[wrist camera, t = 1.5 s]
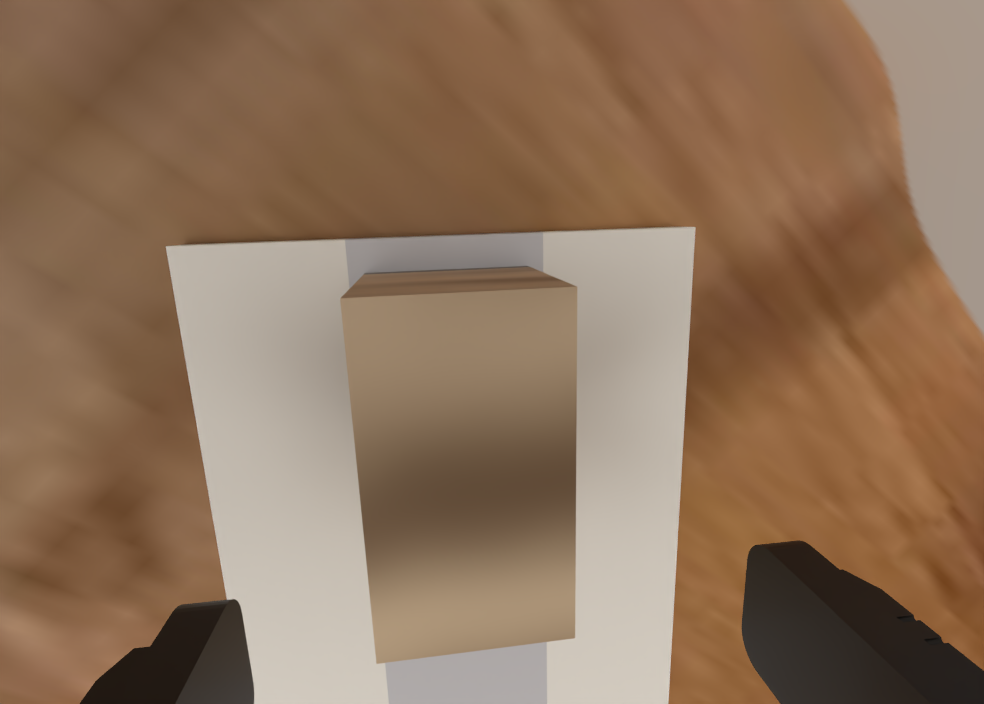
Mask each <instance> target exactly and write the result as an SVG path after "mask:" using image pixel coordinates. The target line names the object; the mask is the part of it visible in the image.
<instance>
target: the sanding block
mask: <svg viewBox="0 0 984 704" xmlns="http://www.w3.org/2000/svg"><path fill="white" fill-rule="evenodd" d="M340 303H341V313H342V323H343V333H344V343H345V353H346V363H347V373H348V383H349V393H350V403H351V413H352V423H353V433H354V443H355V453H356V463H357V473H358V483H359V493H360V503H361V513H362V523H363V533H364V543H365V553H366V564H367V574H368V584H369V594H370V604H371V614H372V624H373V634H374V644H375V654H376V664H380V663H388V662H395V661H403V660H411V659H419V658H426V657H434V656H442V655H450V654H457V653H465V652H473V651H480V650H488V649H496V648H504V647H511V646H519V645H527V644H534V643H542V642H550V641H558V640H565V639H573V638H575V589H576V427H577V286H574V285H572V284H570V283H567V282H565V281H563V280H560V279H558V278H555V277H553V276H551V275H548V274H546V273H544V272H541V271H539V270H536V269H534V268H532V267H529V266H512V267H489V268H466V269H443V270H421V271H398V272H375V273H364V275H363V276H362V277H361V278H360V279H359V280H358V281H357V282H356V283H355V284H354V285H353V286H352V287H351V288H350V289H349V290H348V291H347V292H346V293H345V294H344V295H343V296H342V297H341V298H340Z"/></svg>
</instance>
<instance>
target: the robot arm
mask: <svg viewBox="0 0 984 704" xmlns="http://www.w3.org/2000/svg"><path fill="white" fill-rule="evenodd" d="M742 635H743V641H744V645H745V648H746V651H747V654H748V656H749V659H750V661H751V663H752V665H753V666H754V668H755V670H756V671H757V672H758V674H759V675H760V677H761V678H762V679H763V681H764V682H765V683H766V685H767V686H768V687H769V689H770V690H771V691H772V693H773V694H774V695H775V697H776V698H777V699H778V701H779V702H780V703H781V704H984V671H983V670H982V669H980V668H979V667H978V666H977V665H975V664H974V663H973V662H972V661H970V660H969V659H968V658H967V657H965V656H964V655H963V654H962V653H960V652H959V651H958V650H957V649H955V648H954V647H953V646H952V645H950V644H949V643H943V642H942V640H941V637H940V636H939V635H938V634H937V633H935V632H934V631H933V630H932V629H930V628H929V627H928V626H927V625H925V624H924V623H923V622H922V621H920V620H918V621H916V620H915V619H914V616H913V614H912V613H910V612H909V611H908V610H907V609H905V608H904V607H903V606H902V605H900V604H899V603H898V602H897V601H895V600H894V599H893V598H892V597H890V596H889V595H888V594H887V593H885V592H884V591H883V590H882V589H880V588H878V587H876V586H874V585H872V584H870V583H868V582H866V581H864V580H862V579H860V578H858V577H856V576H854V575H852V574H851V573H849V572H847V571H845V570H839V569H838V568H837V567H836V566H834V565H833V564H832V563H831V562H830V561H828V560H827V559H826V558H825V557H824V556H822V555H821V554H820V553H819V552H818V551H816V550H815V549H814V548H813V547H812V546H810V545H809V544H807V543H806V542H803V541H790V542H781V543H771V544H762V545H755V546H753V547H752V548H751V549H750V551H749V554H748V559H747V570H746V582H745V593H744V605H743V616H742ZM80 704H254V683H253V677H252V671H251V665H250V659H249V652H248V646H247V640H246V634H245V628H244V622H243V616H242V611H241V607H240V604H239V602H238V601H237V600H235V599H230V600H221V601H212V602H202V603H193V604H183V605H180V606H178V607H177V608H176V609H175V610H174V611H173V612H172V614H171V615H170V617H169V618H168V620H167V622H166V623H165V625H164V626H163V628H162V629H161V631H160V632H159V634H158V636H157V637H156V639H155V640H154V642H153V643H152V645H151V646H150V647H143V648H134V649H133V650H132V651H130V652H129V653H128V654H127V655H126V656H125V657H123V658H122V659H121V660H120V661H119V662H118V663H116V664H115V665H114V666H113V667H112V668H111V669H109V670H108V671H107V672H106V673H105V674H104V675H102V676H101V677H100V678H99V679H98V680H97V681H96V682H95V683H94V684H93V686H92V687H91V689H90V690H89V691H88V693H87V694H86V696H85V697H84V698H83V700H82V701H81V703H80Z"/></svg>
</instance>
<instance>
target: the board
mask: <svg viewBox="0 0 984 704" xmlns="http://www.w3.org/2000/svg"><path fill="white" fill-rule="evenodd" d="M694 244H695V227H652V228H624V229H597V230H569V231H542V232H514V233H486V234H459V235H431V236H404V237H376V238H349V239H321V240H294V241H266V242H238V243H211V244H183V245H174V246H166V251H167V257H168V262H169V268H170V274H171V280H172V286H173V291H174V297H175V303H176V309H177V314H178V320H179V326H180V332H181V337H182V343H183V349H184V355H185V360H186V366H187V372H188V378H189V384H190V389H191V395H192V401H193V407H194V412H195V418H196V424H197V430H198V435H199V441H200V447H201V453H202V458H203V464H204V470H205V476H206V482H207V487H208V493H209V499H210V505H211V510H212V516H213V522H214V528H215V533H216V539H217V545H218V551H219V557H220V562H221V568H222V574H223V580H224V585H225V591H226V597H227V600H230V599H235V600H237V601H238V602H239V604H240V607H241V611H242V616H243V622H244V628H245V634H246V640H247V646H248V652H249V659H250V665H251V671H252V677H253V683H254V704H668V699H669V682H670V664H671V647H672V629H673V612H674V594H675V577H676V559H677V542H678V524H679V506H680V489H681V471H682V454H683V436H684V419H685V401H686V384H687V366H688V349H689V331H690V314H691V296H692V279H693V261H694ZM512 266H529V267H532V268H534V269H536V270H539V271H541V272H544V273H546V274H548V275H551V276H553V277H555V278H558V279H560V280H563V281H565V282H567V283H570V284H572V285H574V286H577V427H576V589H575V638H573V639H565V640H558V641H550V642H542V643H534V644H527V645H519V646H511V647H504V648H496V649H488V650H480V651H473V652H465V653H457V654H450V655H442V656H434V657H426V658H419V659H411V660H403V661H395V662H388V663H380V664H376V654H375V644H374V634H373V624H372V614H371V604H370V594H369V584H368V574H367V564H366V553H365V543H364V533H363V523H362V513H361V503H360V493H359V483H358V473H357V463H356V453H355V443H354V433H353V423H352V413H351V403H350V393H349V383H348V373H347V363H346V353H345V343H344V333H343V323H342V313H341V303H340V298H341V297H342V296H343V295H344V294H345V293H346V292H347V291H348V290H349V289H350V288H351V287H352V286H353V285H354V284H355V283H356V282H357V281H358V280H359V279H360V278H361V277H362V276H363V275H364V273H375V272H398V271H421V270H443V269H466V268H489V267H512Z"/></svg>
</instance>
